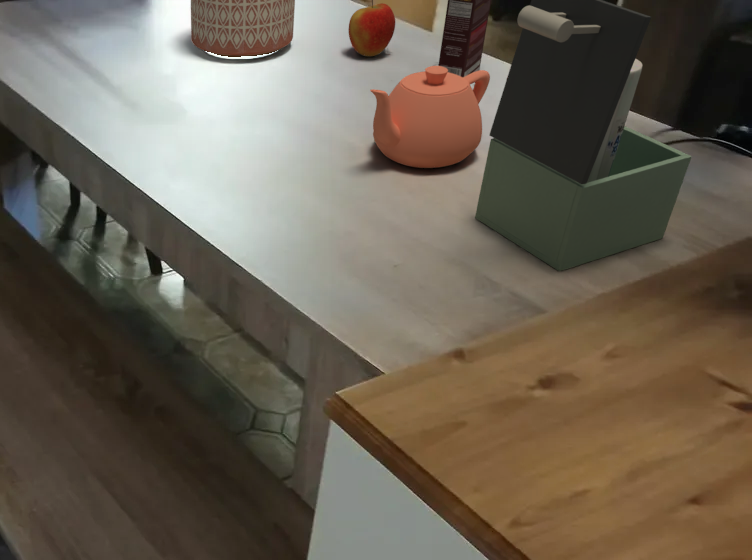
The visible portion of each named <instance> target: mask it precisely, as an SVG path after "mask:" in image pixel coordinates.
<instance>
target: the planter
mask: <svg viewBox="0 0 752 560" xmlns="http://www.w3.org/2000/svg"><path fill="white" fill-rule="evenodd" d="M295 5H296V0H190V33H191V34H190V36H191V37H190V41H191V43H192V44H193V46H195V47H196V48H198V50H202V51H203V50H204V51H207V52H211V53H214V54H217V55H221V56H228V57H241V56H257V55H263V54H269V53H272V52H275V51H277V50H279V49H280V50H281V49H283V48H285V47H287V46H288V45H290V44H291V42H293V39H294V25H295V8H296V7H295ZM280 50H279V51H280ZM204 51H203V52H204Z"/></svg>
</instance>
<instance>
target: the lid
mask: <svg viewBox="0 0 752 560" xmlns="http://www.w3.org/2000/svg"><path fill="white" fill-rule="evenodd" d="M651 20H652V16H650V15H647V14H644V13H641V12H638V11H635V10H632V9H629V8H626V7H624V6H620V5H618V4H614V3H612V2H610V1H609V2H608V1H607V0H531V1H530V3H529V5H526V6H524V7H523V8H522V9H521V10H520V11H519V13H518V16H517V20H516V21H517V25H518V27H520V28H521V29H522V30H521V32H520V35H519V39H518V42H517V45H516V49H515V51H514V55H513V58H512V61H511V64H510V68H509V71H508V74H507V77H506V81H505V84H504V88H503V90H502V93H501V97H500V100H499V103H498V106H497V109H496V112H495V115H494V119H493V121H492V125H491V129H490V132H489V137H491V138H492V139H493V138H495V139H497V140H499V141H501V142H503V143H505V144H506V145H508V146H510V147H512V148H514V149H516V150H518V151H520V152H521V153H523V154H525V155H527V156H529V157H531V158H533V159H535V160H536V161H538V162H540V163H542V164H544V165H546V166H548V167H550V168H551V169H553V170H555V171H557V172H559V173H561V174H563V175H565V176H567V177H568V178H570V179H572V180H574V181H576V182H578V183H580V184H587V181H588V179H589V176H590V173H591V171H592V168H593V166H594V163H595V161H596V158H597V155H598V153H599V150H600V148H601V145H602V143H603V140H604V138H605V135H606V132H607V130H608V127H609V125H610V122H611V120H612V117H613V115H614V112H615V109H616V107H617V104H618V102H619V99H620V97H621V94H622V91H623V89H624V86H625V84H626V81H627V79H628V76H629V74H630V71H631V68H632V66H633V63H634V61H635V59H637V56H638V53H639V50H640V47H641V45H642V43H643V41H644V38H645V35H646V32H647V31H648V28H649V25H650V22H651Z"/></svg>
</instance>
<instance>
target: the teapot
mask: <svg viewBox="0 0 752 560" xmlns="http://www.w3.org/2000/svg"><path fill="white" fill-rule="evenodd" d="M490 79H491V75H490V73H489V71H487V70H485V69H480V70H479V71H476V72H473V73H471V74H469V75H467V76H465V77H461V76H459V75H456V74H453V73H449V72H448V69H447V68H445V67H442V66H438V65H430V66H427V67H425V69H424V71H423V70H422V71H418V72H413V73H410V74H408V75H406V76H404V77H403V78H401V80H400V81H399V82H398V83H397V84H396V85H395V87H393V89H392V91H390V93H389V94H388V93H387V91H385V90H381V89H375V88H374V89H370V90H369V91H370V92H371V93H372V94H373V95H374V97H375V100H376V106H375V107H376V108H375V111H374V116H373V122H372V129H373V132H372V137H373V141H374V143H375V144H376V146H377V148H378V149H379V151H380V152H381V153H382V154H383V155H384V156H385V157H386V158H387V159H389V160H391V161H393V162H395V163H398V164H401V165H404V166H407V167H410V168H411V167H412V168H419V169H423V168H424V169H433V168H435V169H436V168H443V167H448V166H452V165H455V164H458V163H460V162H462V161H464V160H465V159H466V158H467V157H469V156H470V155H471V154H472V153H473V152H474V151H475V150H476V149H477V148H478V146H479V145H480V143H481V141H482V136H483V119H482V118H483V117H482V112H481V108H480V105H479V104H480V103H481V102H482V99H483V97H484V95H485V93H486V92H487V90H488V87H489V84H490ZM473 84H474V85H473ZM471 85H473V87H472V86H471Z"/></svg>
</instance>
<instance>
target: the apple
mask: <svg viewBox="0 0 752 560" xmlns="http://www.w3.org/2000/svg"><path fill="white" fill-rule="evenodd" d="M395 30H396V17H395V14H394V12H393V10H392V7H390V6H389V5H388V4H387V3H383V2H382V3H376V4H374V0H371V6H366V7H363V8H358V9H357V10H356V11H354V13H352V15H351V16H350V19H349V23H348V37H349V38H348V39H349V41H350V44H351V46H352V48H353V49H354V51H355V52H356V53H357V54H358V55H361V56H363V57H375V56H377V55H380V54H381V53H383V52H384V50H386V48H387V47H388V45H389V44H390V42H391V41H392V39H393V36H394V33H395Z"/></svg>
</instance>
